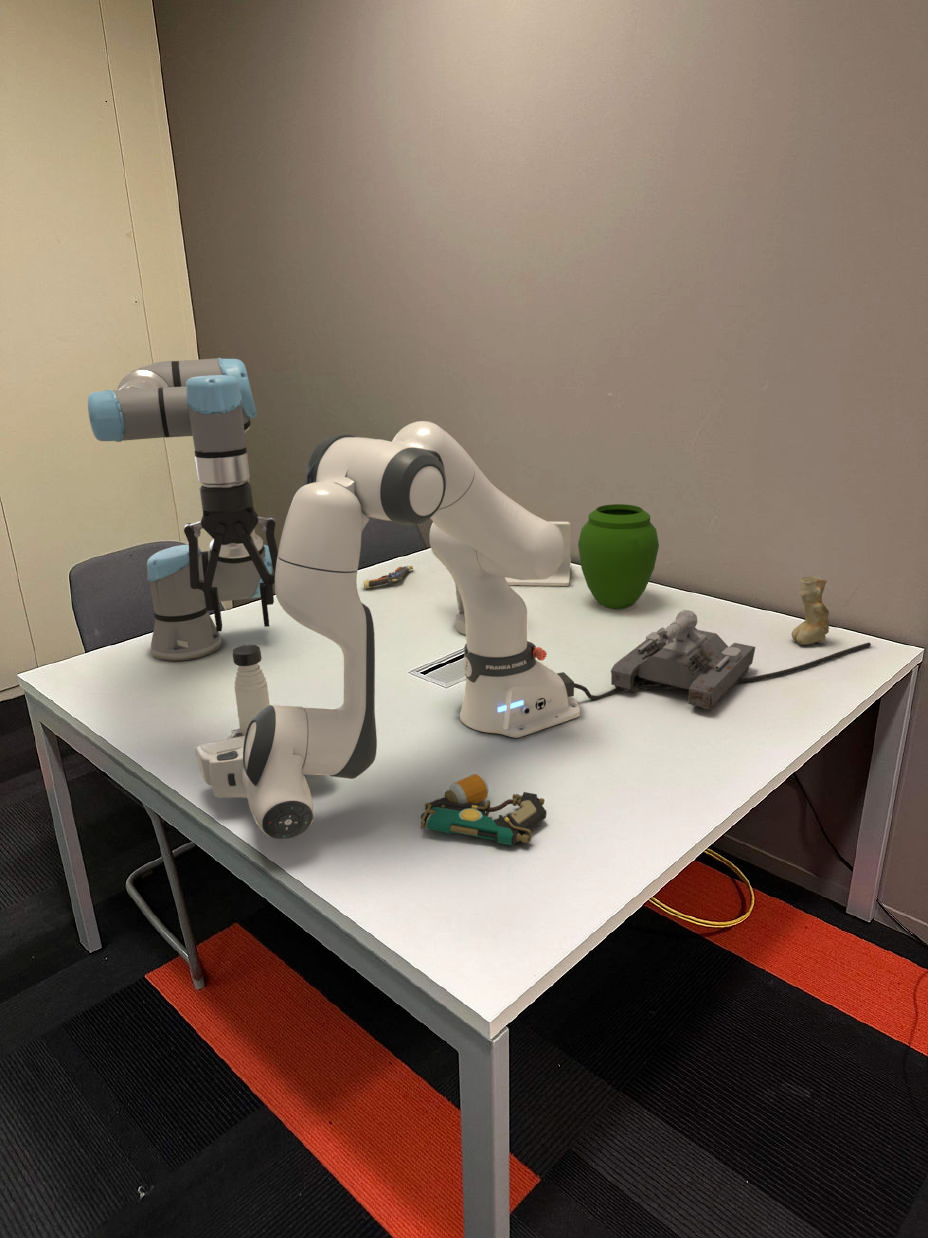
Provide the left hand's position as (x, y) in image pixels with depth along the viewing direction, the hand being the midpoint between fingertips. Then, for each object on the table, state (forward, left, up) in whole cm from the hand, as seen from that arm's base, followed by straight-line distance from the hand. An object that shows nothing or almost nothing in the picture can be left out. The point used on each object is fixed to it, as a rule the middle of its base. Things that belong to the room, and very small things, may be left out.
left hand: (243, 625), depth 136 cm
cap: (0, 0, -4) cm, 4 cm away
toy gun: (-59, +82, -25) cm, 104 cm away
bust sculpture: (-18, +71, -25) cm, 78 cm away
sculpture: (+48, +110, -25) cm, 123 cm away
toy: (+37, +75, -25) cm, 88 cm away
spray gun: (+40, +12, -25) cm, 49 cm away
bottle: (0, 0, -25) cm, 25 cm away
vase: (+2, +104, -25) cm, 108 cm away
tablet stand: (-32, +109, -25) cm, 116 cm away
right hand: (-1, 0, -19) cm, 19 cm away
